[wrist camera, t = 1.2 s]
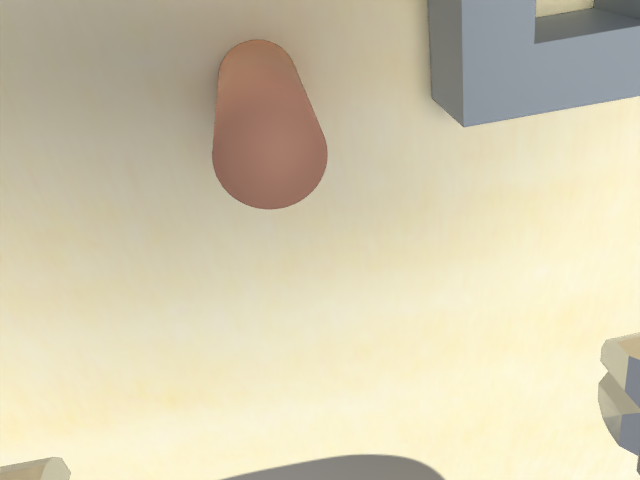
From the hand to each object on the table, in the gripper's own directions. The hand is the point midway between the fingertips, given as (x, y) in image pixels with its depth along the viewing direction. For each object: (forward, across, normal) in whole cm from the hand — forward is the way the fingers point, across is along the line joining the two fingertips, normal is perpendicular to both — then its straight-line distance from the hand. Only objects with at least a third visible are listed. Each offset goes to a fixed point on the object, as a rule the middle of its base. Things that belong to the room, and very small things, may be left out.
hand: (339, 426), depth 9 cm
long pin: (+24, +1, 0) cm, 24 cm away
